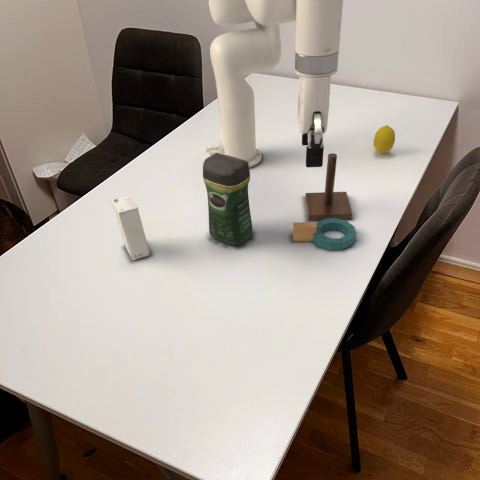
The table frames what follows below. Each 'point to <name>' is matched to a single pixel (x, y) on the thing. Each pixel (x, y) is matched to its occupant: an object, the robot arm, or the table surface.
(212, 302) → the table surface
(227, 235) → the coffee jar
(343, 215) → the peg stand
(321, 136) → the robot arm
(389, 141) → the lemon
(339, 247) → the ring
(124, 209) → the cosmetic box
